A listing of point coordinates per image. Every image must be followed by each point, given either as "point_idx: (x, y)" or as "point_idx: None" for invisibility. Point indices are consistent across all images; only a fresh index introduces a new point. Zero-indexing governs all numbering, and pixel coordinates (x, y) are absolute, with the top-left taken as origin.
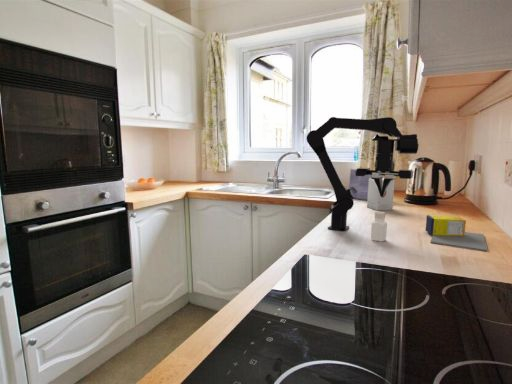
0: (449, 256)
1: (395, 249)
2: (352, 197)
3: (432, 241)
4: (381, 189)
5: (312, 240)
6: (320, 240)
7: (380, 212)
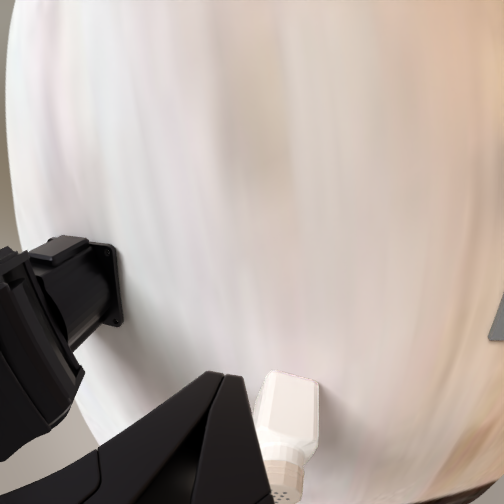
0: (481, 428)
1: (347, 448)
2: (40, 433)
3: (496, 336)
4: (187, 497)
5: (107, 433)
6: (121, 431)
7: (275, 496)
